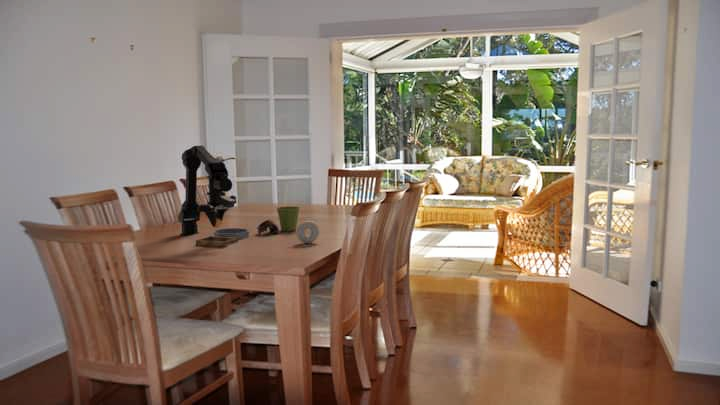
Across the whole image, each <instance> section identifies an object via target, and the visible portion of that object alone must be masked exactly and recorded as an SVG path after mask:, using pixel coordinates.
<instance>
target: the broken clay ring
mask: <svg viewBox="0 0 720 405" xmlns="http://www.w3.org/2000/svg"><path fill="white" fill-rule="evenodd" d="M268 230H269V233H274V232H275V233H276V234H277V235H280V229H279V227H278V225H277V223H276V222H275V221H273V220H271V219H267V220H264V221H262V222H261V223H260V224H258V226H257V234H259V235H261V234H262V233H264V232H267V233H268Z"/></svg>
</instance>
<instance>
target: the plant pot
mask: <svg viewBox="0 0 720 405" xmlns="http://www.w3.org/2000/svg"><path fill="white" fill-rule="evenodd" d="M275 209H276V211H277V214H278V220H279V224H280V230H281V231H283V232H292V231H293V232H295V231H297V227H298V226H297V224H298V216H299V213H300V212H299V211H300V209H301V207H300V206H290V205H289V206H279V207H278V206H277V207H276V208H275Z"/></svg>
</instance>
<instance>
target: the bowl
mask: <svg viewBox="0 0 720 405" xmlns="http://www.w3.org/2000/svg"><path fill="white" fill-rule="evenodd" d="M249 233H250V232H249V229H248V228H240V227H239V228H238V227H234V228H233V227H227V228H219V229H215V230H213V236H216V237H231V238H238V240H244V239H247V238H249V237H250V234H249Z"/></svg>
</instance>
